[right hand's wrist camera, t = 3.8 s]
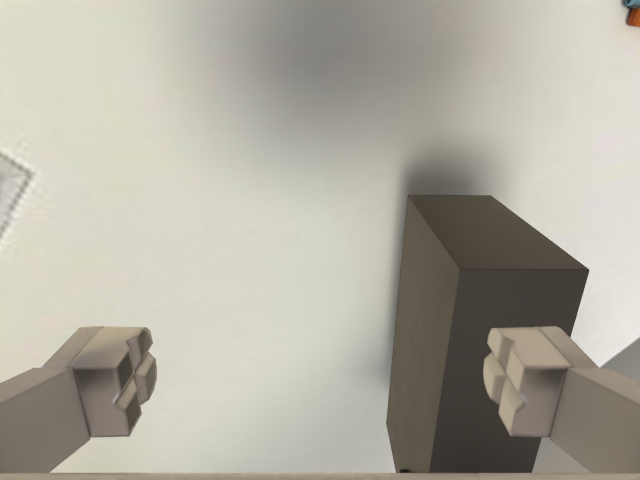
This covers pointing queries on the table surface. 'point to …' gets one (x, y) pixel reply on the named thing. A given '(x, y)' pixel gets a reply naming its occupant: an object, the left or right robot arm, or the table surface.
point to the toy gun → (634, 12)
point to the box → (467, 329)
